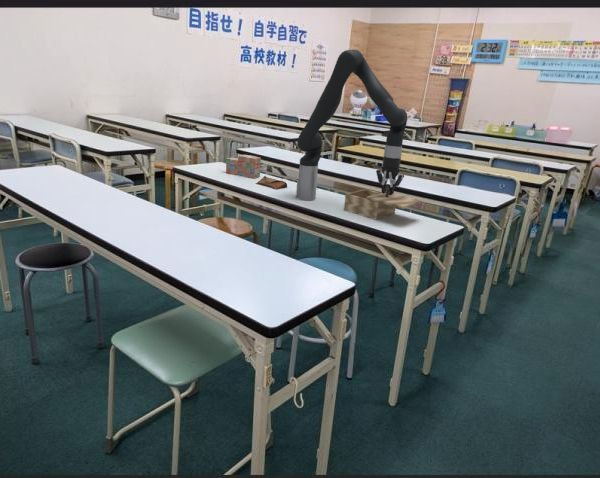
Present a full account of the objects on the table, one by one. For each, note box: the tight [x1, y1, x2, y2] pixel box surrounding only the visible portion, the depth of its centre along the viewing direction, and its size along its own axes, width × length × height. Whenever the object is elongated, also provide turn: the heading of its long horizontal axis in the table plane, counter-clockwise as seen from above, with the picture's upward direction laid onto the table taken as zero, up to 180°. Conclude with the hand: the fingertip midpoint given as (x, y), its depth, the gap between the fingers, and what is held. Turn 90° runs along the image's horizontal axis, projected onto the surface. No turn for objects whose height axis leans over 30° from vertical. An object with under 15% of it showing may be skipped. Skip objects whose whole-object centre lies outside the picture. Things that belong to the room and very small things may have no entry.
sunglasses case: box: [255, 175, 288, 191], centre depth 245 cm, size 18×7×7 cm, turn 50°
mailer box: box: [343, 188, 397, 221], centre depth 206 cm, size 18×16×8 cm
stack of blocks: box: [225, 154, 262, 180], centre depth 263 cm, size 21×6×12 cm, turn 60°
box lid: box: [366, 183, 423, 210], centre depth 196 cm, size 19×16×7 cm
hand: (387, 193), depth 198 cm, fingers closed on box lid, 3 cm apart
